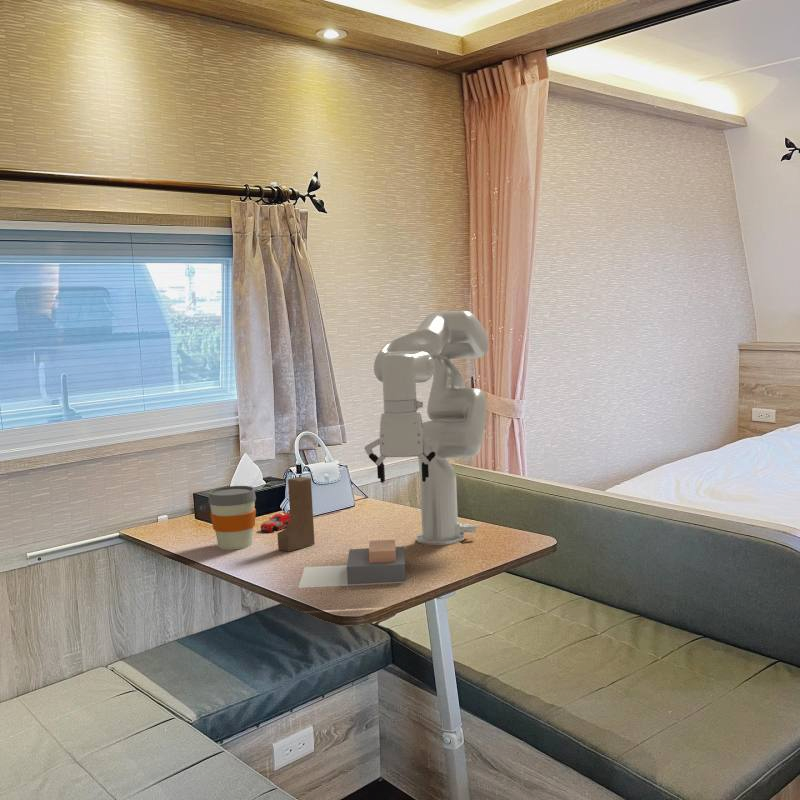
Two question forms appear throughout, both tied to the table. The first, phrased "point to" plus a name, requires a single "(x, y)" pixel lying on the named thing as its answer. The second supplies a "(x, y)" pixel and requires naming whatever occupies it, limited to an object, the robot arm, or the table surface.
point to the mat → (327, 577)
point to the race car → (276, 522)
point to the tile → (382, 551)
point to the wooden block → (298, 516)
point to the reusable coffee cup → (233, 515)
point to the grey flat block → (374, 568)
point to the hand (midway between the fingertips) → (403, 481)
